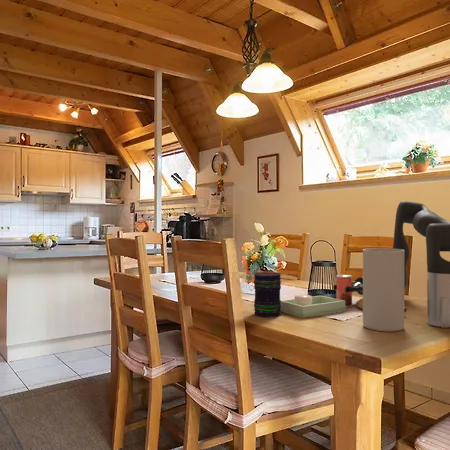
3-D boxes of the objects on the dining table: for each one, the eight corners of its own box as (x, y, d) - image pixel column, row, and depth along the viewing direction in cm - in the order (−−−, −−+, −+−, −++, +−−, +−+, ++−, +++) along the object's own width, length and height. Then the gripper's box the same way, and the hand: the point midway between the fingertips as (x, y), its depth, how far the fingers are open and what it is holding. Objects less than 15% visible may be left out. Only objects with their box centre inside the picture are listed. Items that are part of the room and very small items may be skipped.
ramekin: (315, 309, 158) (314, 297, 158) (299, 310, 157) (298, 298, 157) (307, 306, 165) (307, 294, 165) (292, 307, 163) (291, 295, 163)
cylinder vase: (371, 320, 148) (371, 247, 147) (409, 326, 140) (409, 249, 139) (356, 328, 138) (356, 250, 138) (396, 334, 130) (396, 251, 130)
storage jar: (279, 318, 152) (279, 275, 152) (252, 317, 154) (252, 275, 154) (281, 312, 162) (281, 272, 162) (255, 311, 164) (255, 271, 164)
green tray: (320, 305, 174) (320, 295, 174) (345, 311, 163) (345, 300, 163) (279, 311, 163) (279, 300, 163) (303, 318, 152) (303, 306, 152)
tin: (354, 306, 171) (354, 276, 171) (339, 307, 170) (339, 276, 170) (348, 303, 177) (348, 274, 177) (334, 304, 176) (334, 274, 176)
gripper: (355, 274, 187) (326, 277, 178) (382, 278, 175) (353, 281, 166) (355, 291, 187) (326, 295, 179) (382, 296, 175) (353, 300, 166)
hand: (340, 288), depth 172 cm, fingers closed on tin, 6 cm apart
